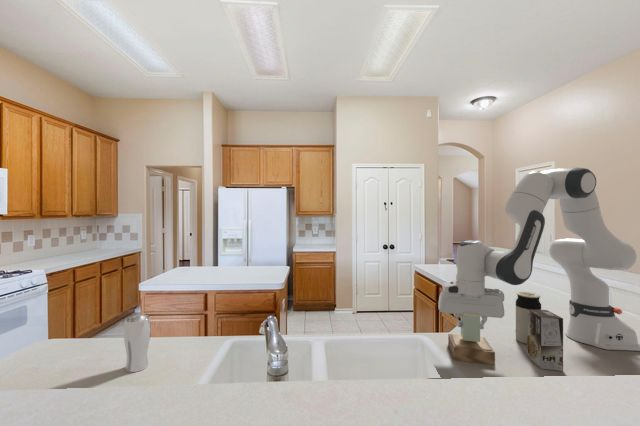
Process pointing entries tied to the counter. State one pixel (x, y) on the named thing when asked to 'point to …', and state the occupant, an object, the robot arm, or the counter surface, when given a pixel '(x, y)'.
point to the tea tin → (470, 327)
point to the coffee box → (545, 339)
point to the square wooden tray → (471, 350)
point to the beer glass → (137, 342)
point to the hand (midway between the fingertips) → (470, 327)
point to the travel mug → (525, 313)
